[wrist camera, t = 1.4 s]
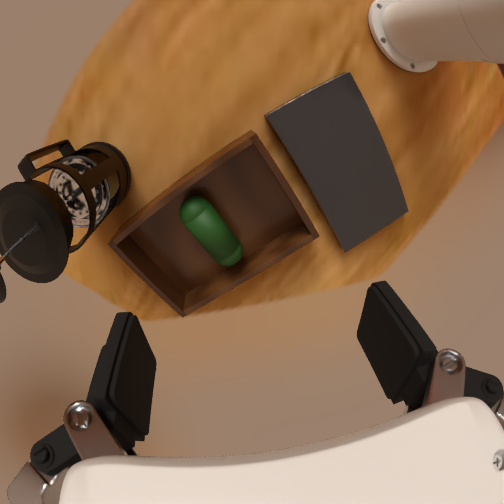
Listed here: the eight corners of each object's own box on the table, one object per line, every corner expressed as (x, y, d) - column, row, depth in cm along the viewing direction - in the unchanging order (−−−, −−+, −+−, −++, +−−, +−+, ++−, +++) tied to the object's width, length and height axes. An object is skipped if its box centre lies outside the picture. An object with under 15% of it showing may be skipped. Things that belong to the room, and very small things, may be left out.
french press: (147, 190, 32) (64, 318, 13) (97, 226, 34) (12, 352, 14) (100, 116, 27) (-45, 160, 7) (52, 160, 28) (-73, 241, 8)
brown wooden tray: (251, 129, 30) (255, 133, 26) (309, 221, 37) (319, 236, 33) (118, 228, 35) (107, 244, 31) (185, 297, 41) (182, 317, 38)
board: (344, 72, 27) (349, 71, 26) (403, 207, 38) (408, 211, 36) (263, 115, 30) (265, 115, 28) (341, 247, 40) (344, 252, 39)
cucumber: (200, 185, 33) (197, 195, 29) (247, 245, 37) (250, 261, 34) (174, 203, 33) (169, 215, 30) (223, 260, 38) (223, 277, 35)
